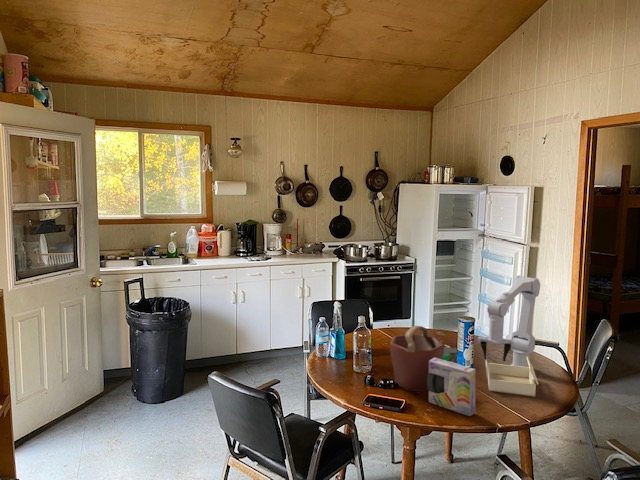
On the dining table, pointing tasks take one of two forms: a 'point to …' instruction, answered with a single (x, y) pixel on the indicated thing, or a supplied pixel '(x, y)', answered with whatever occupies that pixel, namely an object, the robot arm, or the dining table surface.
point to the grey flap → (486, 367)
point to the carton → (511, 379)
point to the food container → (449, 353)
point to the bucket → (414, 358)
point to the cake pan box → (451, 386)
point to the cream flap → (532, 370)
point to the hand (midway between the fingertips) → (494, 359)
